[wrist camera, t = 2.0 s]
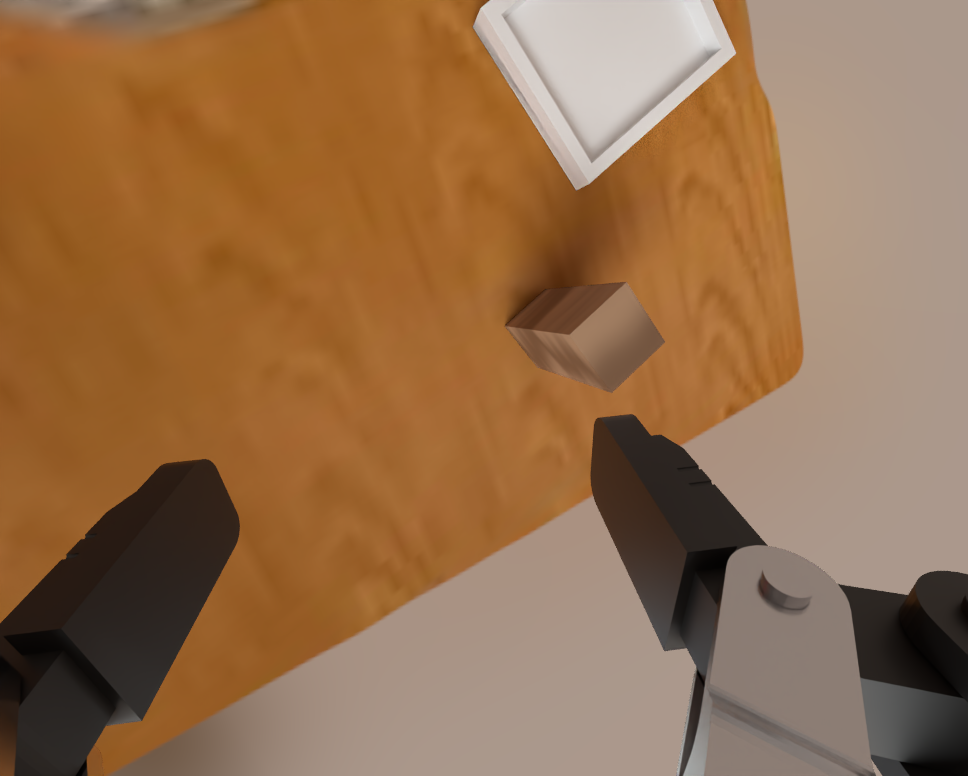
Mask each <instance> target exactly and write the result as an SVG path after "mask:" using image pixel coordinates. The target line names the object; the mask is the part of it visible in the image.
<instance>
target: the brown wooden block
mask: <svg viewBox="0 0 968 776" xmlns="http://www.w3.org/2000/svg"><path fill="white" fill-rule="evenodd" d="M505 327H506V328H507V330H508V331H509V332H510V333H511V335H512V336H513V337H514V339H515V340H516V341H517V342H518V344H519V345H520V346H521V347H522V349H523V350H524V351H525V352H526V354H527V355H528V356H529V357H530V359H531V360H532V361H533V363H534V364H535V365H536V366H537V367H538V368H541V369H544V370H547V371H549V372H552V373H555V374H558V375H561V376H564V377H567V378H570V379H573V380H576V381H579V382H582V383H584V384H587V385H590V386H593V387H596V388H599V389H602V390H605V391H608V392H611V393H612V392H613V391H614V390H615V389H616V388H617V387H618V386H620V385H621V384H622V383H623V382H624V381H625V380H626V379H627V378H628V377H629V376H630V375H631V374H632V373H633V372H634V371H635V370H636V369H637V368H638V367H639V366H640V365H642V364H643V363H644V362H645V361H646V360H647V359H648V358H649V357H650V356H651V355H652V354H653V353H654V352H655V351H656V350H657V349H658V348H659V347H660V346H661V345H662V344H664V343H665V341H664V339H663V338H662V336H661V335H660V333H659V332H658V330H657V329H656V327H655V325H654V324H653V322H652V321H651V319H650V318H649V316H648V315H647V313H646V311H645V310H644V308H643V307H642V305H641V304H640V302H639V301H638V299H637V297H636V296H635V294H634V293H633V291H632V290H631V288H630V286H629V285H628V283H627V282H620V283H609V284H598V285H587V286H576V287H565V288H554V289H545V290H544V291H543V292H542V293H541V294H540V295H538V296H537V297H536V298H535V299H534V300H533V301H532V302H531V303H530V304H529V305H527V306H526V307H525V308H524V309H523V310H522V311H521V312H520V313H519V314H518V315H516V316H515V317H514V318H513V319H512V320H511V321H510V322H509V323H508V324H506V325H505Z"/></svg>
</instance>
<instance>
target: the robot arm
mask: <svg viewBox="0 0 968 776" xmlns="http://www.w3.org/2000/svg"><path fill="white" fill-rule="evenodd" d="M591 487H592V492H593V496H594V499H595V502H596V505H597V507H598V509H599V511H600V513H601V515H602V518H603V519H604V522H605V524H606V526H607V528H608V530H609V533H610V535H611V537H612V539H613V541H614V543H615V546H616V548H617V550H618V552H619V554H620V556H621V559H622V561H623V563H624V565H625V567H626V569H627V571H628V574H629V576H630V578H631V580H632V582H633V584H634V587H635V589H636V591H637V593H638V595H639V597H640V599H641V602H642V604H643V606H644V608H645V610H646V612H647V614H648V617H649V619H650V621H651V623H652V625H653V628H654V629H655V632H656V634H657V636H658V638H659V640H660V643H661V645H662V647H663V649H664V651H668V650H676V649H684V648H687V649H688V651H689V653H690V655H691V657H692V659H693V661H694V663H695V664H696V669H695V673H694V677H693V683H692V688H691V694H690V700H689V706H688V711H687V717H686V722H685V728H684V734H683V740H682V745H681V751H680V757H679V763H678V768H677V774H676V776H876V775H875V772H874V769H873V766H872V762H871V759H872V761H873V762H874V764H875V765H876V766H877V768H878V770H879V771H880V773H881V774H882V776H968V574H963V573H959V572H951V571H934V572H929V573H927V574H924V575H922V576H921V577H920V578H919V579H918V580H917V582H916V584H915V585H914V587H913V588H912V590H911V591H910V593H909V595H904V594H897V593H890V592H884V591H877V590H871V589H864V588H858V587H851V586H845V585H840V584H837V583H836V582H835V581H834V580H833V579H832V578H831V577H830V576H829V575H828V574H827V573H826V572H825V571H823V570H822V569H821V568H819V567H818V566H816V565H815V564H814V563H812V562H810V561H808V560H807V559H805V558H803V557H801V556H799V555H797V554H795V553H792V552H789V551H787V550H783V549H780V548H776V547H770V546H768V545H767V544H766V543H765V542H764V541H763V540H762V539H761V538H760V536H759V535H758V534H757V533H756V532H755V531H754V529H753V528H752V527H751V526H750V525H749V524H748V523H747V521H746V520H745V519H744V518H743V517H742V516H741V514H740V513H739V512H738V511H737V510H736V509H735V507H734V506H733V505H732V504H731V503H730V502H729V501H728V499H727V498H726V497H725V496H724V495H723V494H722V493H721V491H720V490H719V489H718V488H717V487H716V485H712V483H711V480H710V479H709V477H708V476H707V475H706V474H705V473H704V472H703V471H702V469H700V470H699V468H698V465H697V464H696V462H695V461H694V460H693V459H692V458H691V457H690V455H689V454H688V453H687V452H686V451H685V450H684V449H683V448H682V447H680V446H679V445H677V444H675V443H674V442H672V441H671V440H669V439H667V438H666V437H664V436H662V435H654V436H651V435H650V434H649V433H648V431H647V430H646V429H645V428H644V426H643V425H642V424H641V422H640V421H639V420H638V419H637V417H636V416H634V415H632V414H629V415H620V416H611V417H602V418H597V419H596V421H595V424H594V432H593V447H592V462H591ZM239 529H240V524H239V517H238V514H237V512H236V509H235V507H234V505H233V503H232V501H231V499H230V496H229V494H228V492H227V490H226V488H225V485H224V483H223V481H222V479H221V477H220V475H219V472H218V470H217V468H216V466H215V465H214V464H213V463H212V462H211V461H210V460H207V459H202V460H192V461H183V462H174V463H166V464H163V465H162V466H160V467H159V468H158V469H157V470H156V471H155V472H154V473H153V474H152V475H151V476H150V477H149V479H148V480H147V481H146V482H145V483H144V484H143V485H142V486H141V487H140V488H139V489H138V490H137V492H135V493H134V494H132V495H131V496H129V497H128V498H126V499H125V500H124V501H122V502H121V503H119V504H118V505H116V506H115V507H114V508H112V509H111V510H109V511H108V512H107V513H106V514H105V515H104V516H103V517H102V518H101V519H100V520H99V521H98V522H97V523H96V524H95V525H94V526H93V527H92V528H91V529H90V530H89V531H88V532H87V533H86V534H85V536H86V537H85V539H81V540H80V541H79V542H78V543H77V544H76V545H75V546H74V547H73V548H72V549H71V550H70V551H69V552H68V553H67V554H66V555H67V558H66V559H64V560H61V561H60V562H59V563H58V564H57V565H56V566H55V567H54V568H53V569H52V570H51V571H50V572H49V573H48V574H47V575H46V576H45V577H44V578H43V579H42V580H41V581H40V583H39V584H38V585H37V586H36V587H35V588H34V589H33V590H32V591H31V592H30V593H29V594H28V595H27V596H26V597H25V598H24V599H23V600H22V601H21V602H20V603H19V604H18V605H17V607H16V608H15V609H14V610H13V611H12V612H11V613H10V614H9V615H8V616H7V617H6V618H5V619H4V620H3V621H2V622H1V623H0V776H104V773H103V760H102V755H101V752H100V750H99V749H98V748H97V747H96V746H95V745H94V744H95V743H96V741H97V739H98V738H99V736H100V734H101V733H102V731H103V729H104V728H105V726H108V725H115V724H122V723H129V722H137V721H142V720H143V718H144V716H145V714H146V712H147V710H148V708H149V707H150V705H151V703H152V701H153V699H154V697H155V695H156V693H157V692H158V690H159V688H160V686H161V684H162V682H163V680H164V678H165V677H166V675H167V673H168V671H169V669H170V667H171V665H172V664H173V662H174V660H175V658H176V656H177V654H178V652H179V650H180V649H181V647H182V645H183V643H184V641H185V639H186V637H187V636H188V634H189V632H190V630H191V628H192V626H193V624H194V622H195V621H196V619H197V617H198V615H199V613H200V611H201V609H202V607H203V606H204V604H205V602H206V600H207V598H208V596H209V594H210V593H211V591H212V589H213V587H214V585H215V583H216V581H217V579H218V578H219V576H220V574H221V572H222V570H223V568H224V566H225V564H226V563H227V561H228V559H229V557H230V555H231V553H232V551H233V550H234V548H235V546H236V543H237V541H238V537H239Z"/></svg>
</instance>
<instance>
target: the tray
mask: <svg viewBox="0 0 968 776" xmlns="http://www.w3.org/2000/svg"><path fill="white" fill-rule="evenodd" d="M473 28H474V30H475V32H476V33H477V35H478V36H479V38H480V39H481V41H482V43H483V44H484V46H485V47H486V49H487V50H488V52H489V54H490V55H491V57H492V58H493V60H494V61H495V63H496V65H497V66H498V68H499V69H500V71H501V73H502V74H503V76H504V77H505V79H506V80H507V82H508V84H509V85H510V87H511V88H512V90H513V91H514V93H515V95H516V96H517V98H518V99H519V101H520V102H521V104H522V106H523V107H524V109H525V110H526V112H527V114H528V115H529V117H530V118H531V120H532V121H533V123H534V125H535V126H536V128H537V129H538V131H539V132H540V134H541V136H542V137H543V139H544V140H545V142H546V144H547V145H548V147H549V148H550V150H551V151H552V153H553V155H554V156H555V158H556V159H557V161H558V162H559V164H560V166H561V167H562V169H563V170H564V172H565V173H566V175H567V177H568V178H569V180H570V181H571V183H572V185H573V186H574V188H575V189H576V191H577V190H579V189H580V188H582V187H584V186H586V185H588V184H590V183H591V182H592V181H593V180H594V179H595V178H596V177H598V176H599V175H600V174H601V173H602V172H603V171H604V170H605V169H607V168H608V167H609V166H610V165H611V164H612V163H613V162H614V161H616V160H617V159H618V158H619V157H620V156H621V155H622V154H623V153H625V152H626V151H627V150H628V149H629V148H630V147H631V146H632V145H634V144H635V143H636V142H637V141H638V140H639V139H640V138H641V137H643V136H644V135H645V134H646V133H647V132H648V131H649V130H650V129H652V128H653V127H654V126H655V125H656V124H657V123H658V122H659V121H661V120H662V119H663V118H664V117H665V116H666V115H667V114H668V113H670V112H671V111H672V110H673V109H674V108H675V107H676V106H677V105H679V104H680V103H681V102H682V101H683V100H684V99H685V98H686V97H688V96H689V95H690V94H691V93H692V92H693V91H694V90H696V89H697V88H698V87H699V86H700V85H701V84H702V83H703V82H705V81H706V80H707V79H708V78H709V77H710V76H711V75H712V74H714V73H715V72H716V71H717V70H718V69H719V68H720V67H721V66H723V65H724V64H725V63H726V62H727V61H728V60H729V59H730V58H732V57H733V56H734V55H735V54H736V52H735V50H734V47H733V45H732V43H731V41H730V38H729V36H728V34H727V31H726V29H725V27H724V25H723V22H722V20H721V18H720V16H719V13H718V11H717V9H716V6H715V4H714V2H713V0H490V1H489V2H487V3H486V4H485V5H484V6H482V7H481V8H480V11H479V13H478V16H477V18H476V21H475V23H474V25H473Z"/></svg>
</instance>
